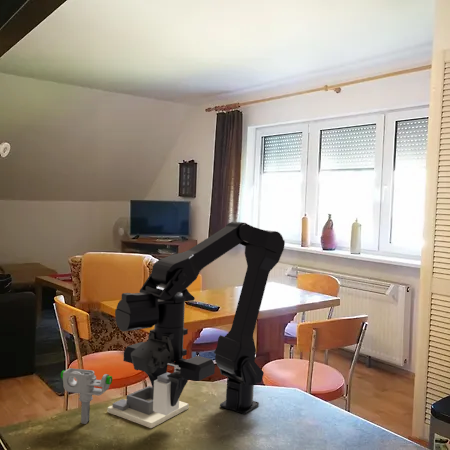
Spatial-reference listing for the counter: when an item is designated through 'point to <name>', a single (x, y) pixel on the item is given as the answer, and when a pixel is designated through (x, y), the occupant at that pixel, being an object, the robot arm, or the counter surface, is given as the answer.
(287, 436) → the counter surface
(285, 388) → the counter surface
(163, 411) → the plug
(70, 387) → the mechanical component
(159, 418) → the board
